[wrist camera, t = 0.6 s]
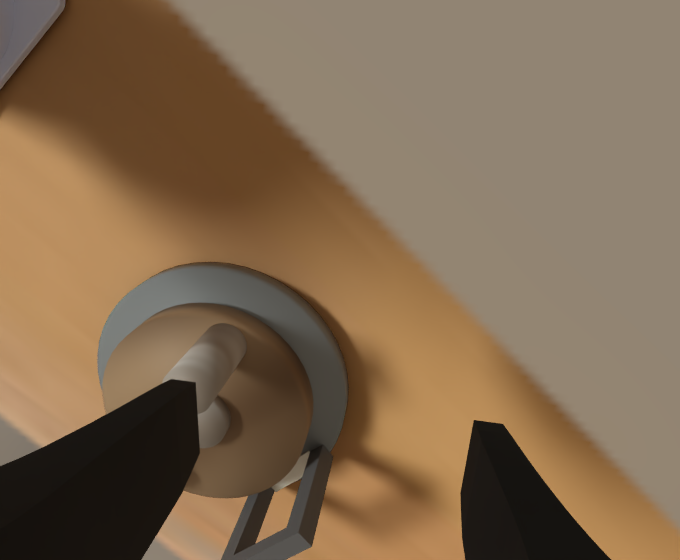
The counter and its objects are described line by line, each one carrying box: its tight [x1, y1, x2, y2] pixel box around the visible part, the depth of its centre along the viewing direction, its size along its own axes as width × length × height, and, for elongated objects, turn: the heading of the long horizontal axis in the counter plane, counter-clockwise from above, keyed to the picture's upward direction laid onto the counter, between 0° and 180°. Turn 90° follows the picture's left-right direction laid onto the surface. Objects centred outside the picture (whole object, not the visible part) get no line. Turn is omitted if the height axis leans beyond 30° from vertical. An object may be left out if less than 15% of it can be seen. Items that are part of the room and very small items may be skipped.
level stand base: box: [98, 262, 348, 560], centre depth 21 cm, size 12×12×6 cm
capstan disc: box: [102, 303, 313, 498], centre depth 20 cm, size 9×9×5 cm
